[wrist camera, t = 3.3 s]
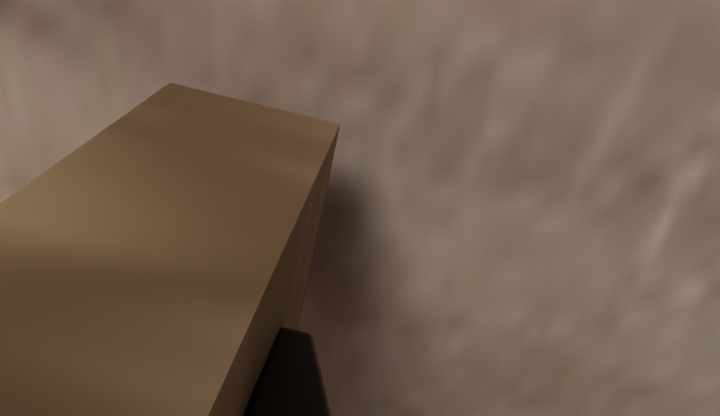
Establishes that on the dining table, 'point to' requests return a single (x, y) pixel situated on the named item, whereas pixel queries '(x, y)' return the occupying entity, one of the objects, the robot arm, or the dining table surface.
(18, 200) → the brown wooden block
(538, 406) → the dining table surface
